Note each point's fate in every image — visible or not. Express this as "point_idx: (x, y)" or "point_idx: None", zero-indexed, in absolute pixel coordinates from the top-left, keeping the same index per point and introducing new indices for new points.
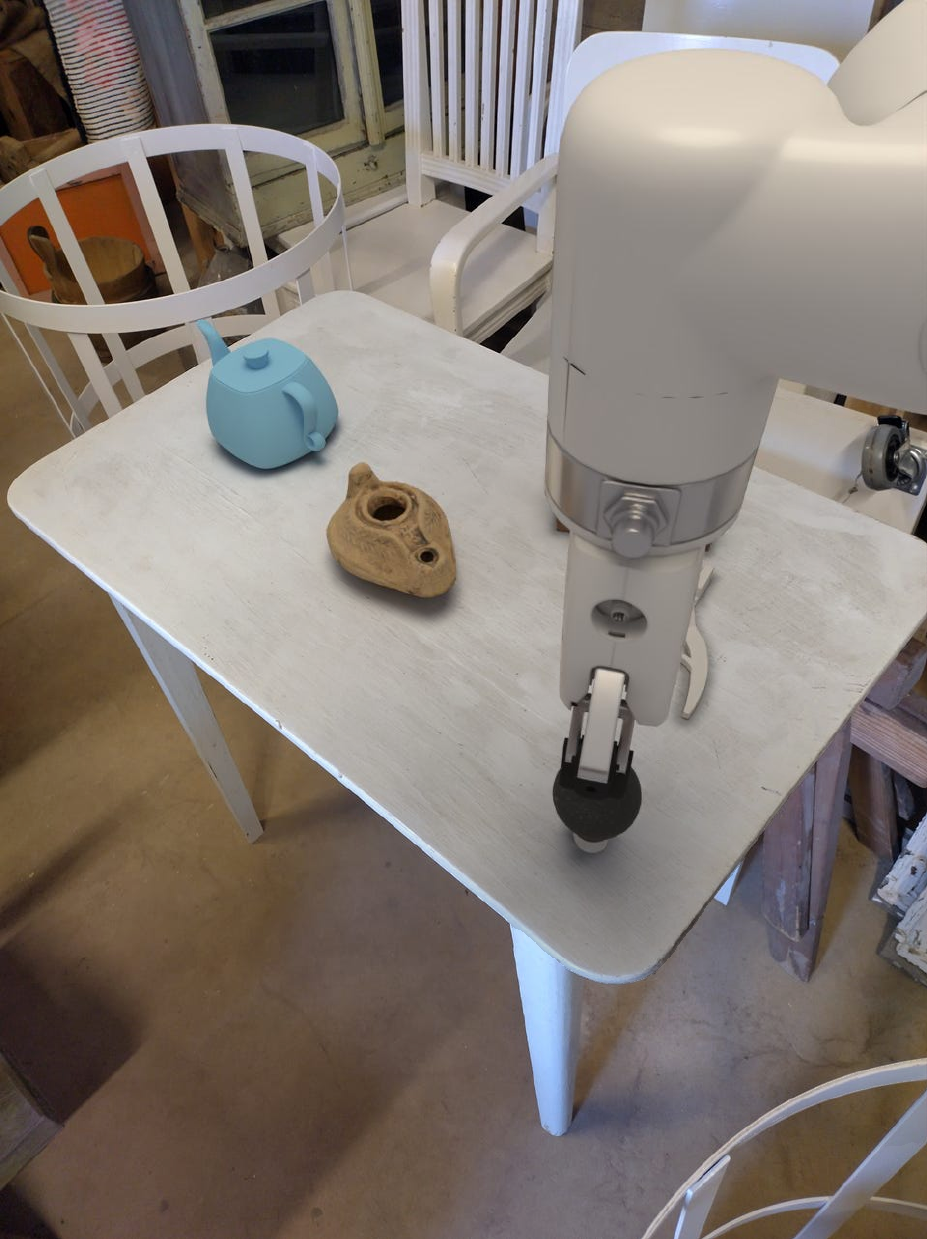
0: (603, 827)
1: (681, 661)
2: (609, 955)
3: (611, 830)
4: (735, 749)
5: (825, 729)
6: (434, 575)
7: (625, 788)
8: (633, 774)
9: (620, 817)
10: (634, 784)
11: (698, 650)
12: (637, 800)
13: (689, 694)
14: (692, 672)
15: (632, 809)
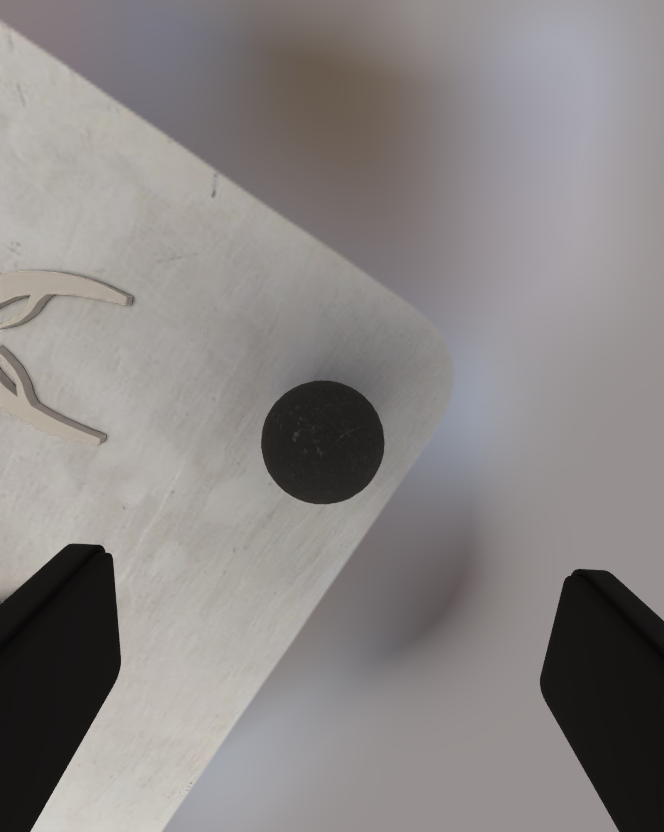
0: (382, 435)
1: (39, 307)
2: (444, 375)
3: (380, 422)
4: (163, 231)
5: (95, 91)
6: None
7: (644, 605)
8: (303, 407)
9: (370, 417)
10: (321, 405)
11: (12, 284)
12: (338, 395)
13: (94, 296)
14: (55, 292)
15: (353, 401)
